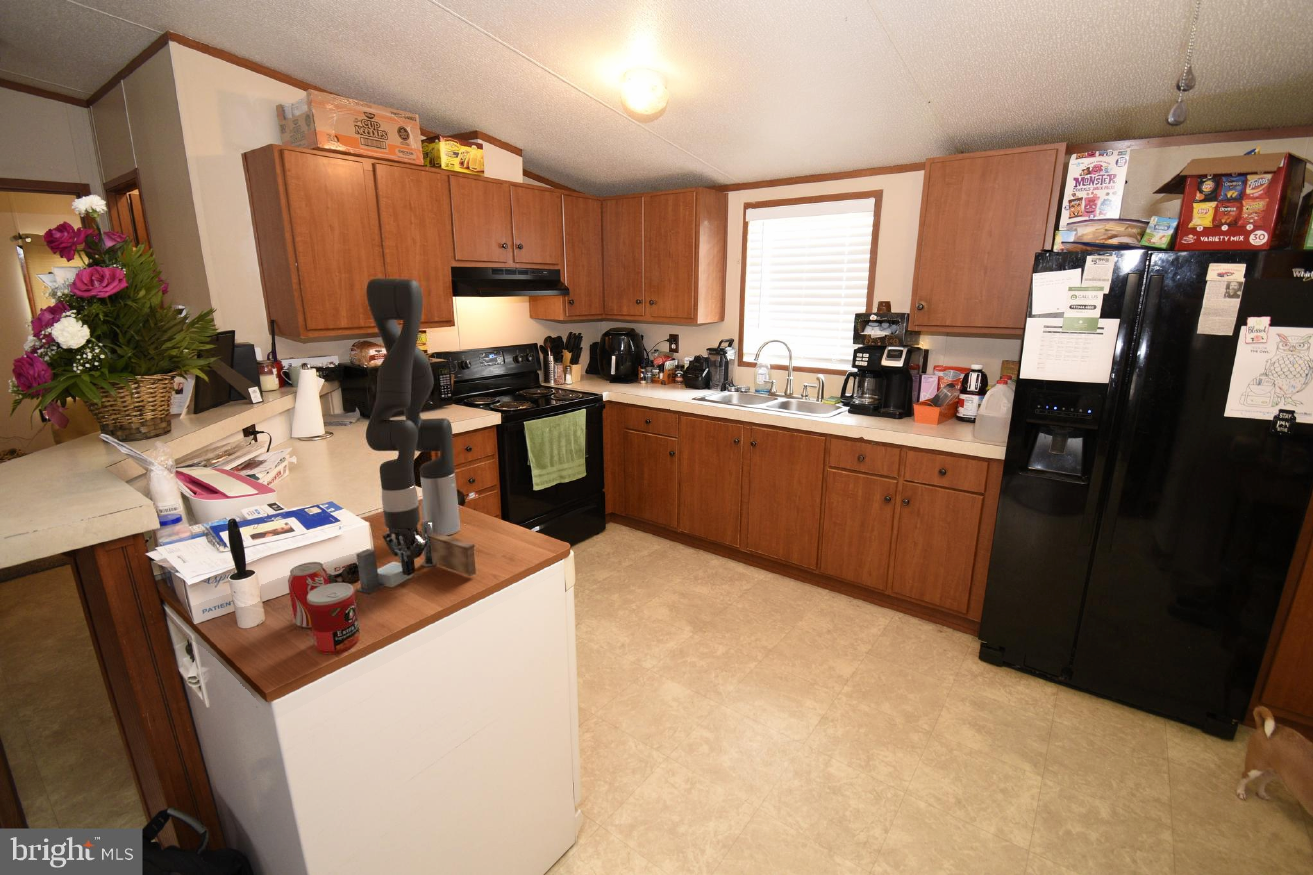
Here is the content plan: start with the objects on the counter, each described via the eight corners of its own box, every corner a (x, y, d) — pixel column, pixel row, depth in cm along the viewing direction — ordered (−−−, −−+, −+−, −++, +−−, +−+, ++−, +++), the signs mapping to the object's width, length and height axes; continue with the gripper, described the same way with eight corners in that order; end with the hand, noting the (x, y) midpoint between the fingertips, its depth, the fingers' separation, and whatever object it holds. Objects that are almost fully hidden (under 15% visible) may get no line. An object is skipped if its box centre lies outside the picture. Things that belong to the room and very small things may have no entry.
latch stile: (356, 590, 130) (351, 554, 128) (373, 582, 134) (368, 547, 132) (367, 594, 128) (362, 557, 126) (384, 585, 132) (379, 550, 130)
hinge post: (418, 565, 143) (414, 524, 140) (431, 558, 146) (427, 518, 144) (430, 568, 141) (425, 526, 139) (442, 561, 144) (438, 521, 142)
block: (374, 583, 134) (372, 571, 134) (394, 572, 140) (393, 561, 139) (392, 588, 132) (390, 576, 131) (412, 577, 137) (411, 565, 136)
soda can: (306, 634, 113) (297, 579, 110) (288, 624, 117) (278, 570, 114) (341, 617, 119) (333, 565, 116) (323, 608, 122) (315, 557, 120)
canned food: (341, 657, 105) (333, 603, 103) (304, 652, 107) (295, 599, 104) (369, 634, 113) (362, 584, 110) (334, 630, 114) (327, 580, 112)
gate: (431, 563, 142) (428, 535, 140) (438, 559, 143) (435, 532, 142) (469, 576, 134) (467, 547, 132) (477, 573, 136) (474, 544, 134)
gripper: (434, 503, 131) (441, 572, 135) (394, 496, 137) (403, 562, 140) (407, 514, 124) (415, 586, 128) (367, 505, 130) (376, 575, 134)
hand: (409, 573), depth 134 cm, fingers closed
